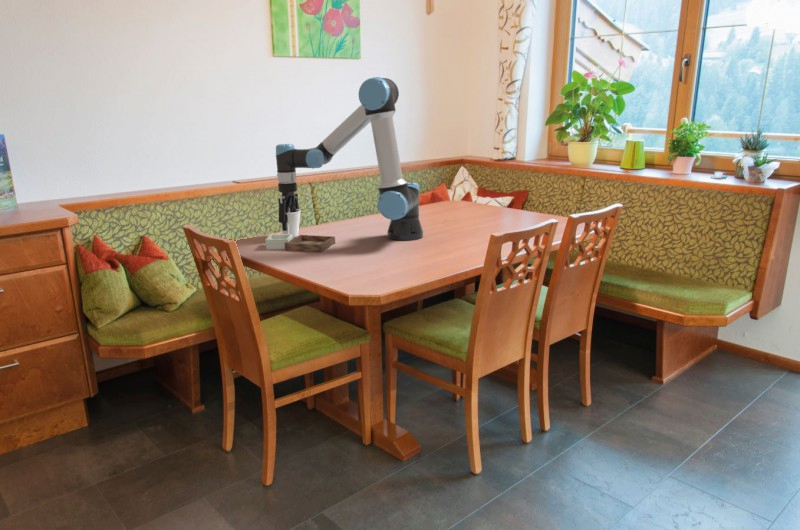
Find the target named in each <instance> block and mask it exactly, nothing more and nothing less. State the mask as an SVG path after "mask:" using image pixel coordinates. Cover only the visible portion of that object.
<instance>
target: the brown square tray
mask: <svg viewBox="0 0 800 530" xmlns="http://www.w3.org/2000/svg"><path fill="white" fill-rule="evenodd" d="M335 244H336V236H332V235H331V236H330V235H311V234H310V235H309V234H298V236H297V237H294V238H293V239H292V240H290V241H289V242H286V243H285V249H284V251H296V252H308V253H309V252H311V253H322V252H324V251H325V250H327V249H328V248H330V247H332V246H334V245H335Z"/></svg>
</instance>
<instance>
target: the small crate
mask: <svg viewBox="0 0 800 530" xmlns="http://www.w3.org/2000/svg"><path fill="white" fill-rule="evenodd" d="M292 239H294V238H293V234H283V233H281V234H279V233H278V234H275V233H274V234H272V233H271V234H269V235H268V236H267V237H266V238H265V239H264V240H265V241H264V242H265V249H266V250H267V251H268V250H285V243H286V242H289V241H290V240H292Z"/></svg>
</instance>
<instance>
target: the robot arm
mask: <svg viewBox="0 0 800 530" xmlns="http://www.w3.org/2000/svg"><path fill="white" fill-rule="evenodd" d="M399 96H400V91H399V88H398V86H397V84H396V83H395V82H394V81H393V80H392V79H390V78H388V77H379V76H373V77H370V78H368V79H367V78H366V80H364V81H363V82H362V83H361V85H360V86H359V90H358V100H359V103H360V105H359V106H358V107H357V108H356V109H355V110H354V111H353V112H352V113H351V114H350V115H349V116H348V117H346V118H345V119H344V120H343V121H342V122H341V123H340V124H339V125H338V126H337V127H336V128H334V130H333V131H332V132H331V133H330V134H328V135H327V136H326V138H324V139H323V140H322V141H321V142H320V143H319V144H318V145H317V146H316V147H312V148H303V149H302V148H301V149H299V148H295V145H294V144H293V143H280V144H277V145H275V159H276V168H277V171H276V173H277V174H276V176H277V182H278V183H277V189H278V192H279V193H281V197H279V198H277V200H278V211H279V215H278V222H279V224H281V223H282V227H281V231H282V233H281V234H289V223H287V221H288V217H287V214H285V213H289V209H290V212H291V213H293V212H296V209H300V207H299V205H300V204H299V199H298V198H299V195H298V193H295V192H297V190H298V185H297V184H298V183H297V172H296V170H297V169H299V168H300V169H320V168H322V167H323V165H326V164H329V163H330V162H331V160H332V159H333V157H334V156H335V155H336V154H337V153H338V152H339V151H340V150H341V149H342V148H344V146H346V145H347V144H348V143H349V142H350V141H351V140H352V139H353V138H355V137H356V136H357V135H358V134H359V133H360V132H362V131H363V130H364V129H365V128H366V127H367V126H368V125H369V124H370V125H371V129H372V131H371V132H372V137H373V142H374V143H373V144H374V148H375V154H376V160H377V166H378V172H379V177H380V183H379V185H378V187H377V188H378V189H377V190H378V195H379V197H378V198H377V209H378V211H379V213H380V214H381V215H382V216H383V218H386V219H387V220H390V222H389V225H388V228H387V235H386V236H387V238H389V239H392V240H395V241H397V240H398V241H412V240H418V239H421V238H423V237H424V229H423V227H422V224H421V221H420V220H421V219H420V186H419V183H418V182H408V181H407V180H405V179H404V177H403V172H402V167H401V161H400V154H399V148H398V140H397V135H396V130H395V123H394V119H393V118H394V115H395V113H396V111H397V110H396V103H397V101H398V99H399ZM298 235H300V234H299V232H298Z"/></svg>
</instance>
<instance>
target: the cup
mask: <svg viewBox="0 0 800 530" xmlns="http://www.w3.org/2000/svg"><path fill="white" fill-rule="evenodd" d="M301 212H302V210H301V209H300V208H299V209H296V212H293V213H291V212H290V209H289V213H285V214H287V217H288V221H287V223H289V234H293V239H294V238H295V237H297V236H299V234H298V232H299V231H300V229H299V227H300V222H301V220H300V219H301ZM276 213H277V215H278V216H279V210H277V211H276ZM280 226H281V228H282V223H280Z"/></svg>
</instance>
